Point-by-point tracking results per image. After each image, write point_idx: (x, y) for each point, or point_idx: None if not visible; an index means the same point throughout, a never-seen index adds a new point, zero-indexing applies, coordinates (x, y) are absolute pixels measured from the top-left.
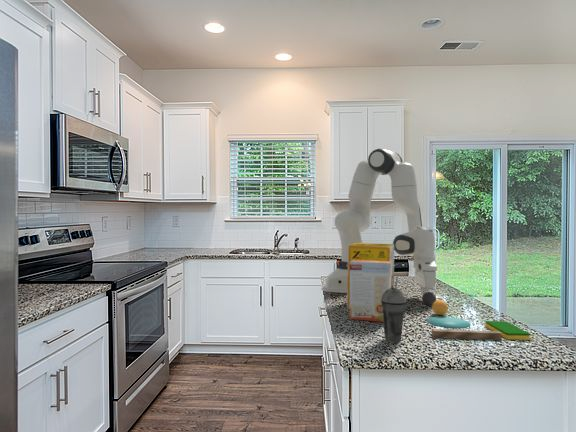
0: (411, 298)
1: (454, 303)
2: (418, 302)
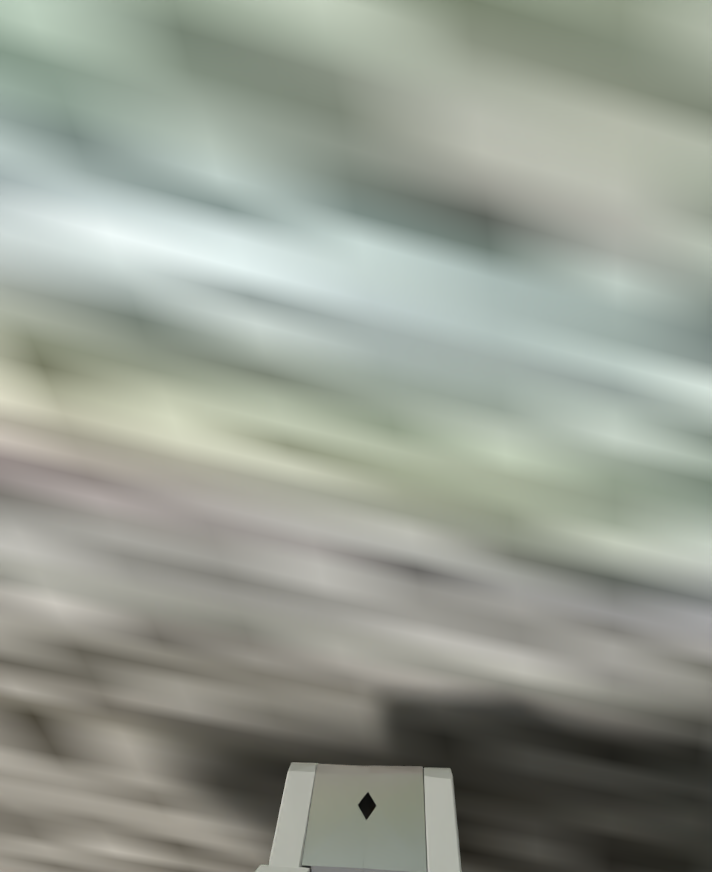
0: (247, 808)
1: (649, 43)
2: (548, 791)
